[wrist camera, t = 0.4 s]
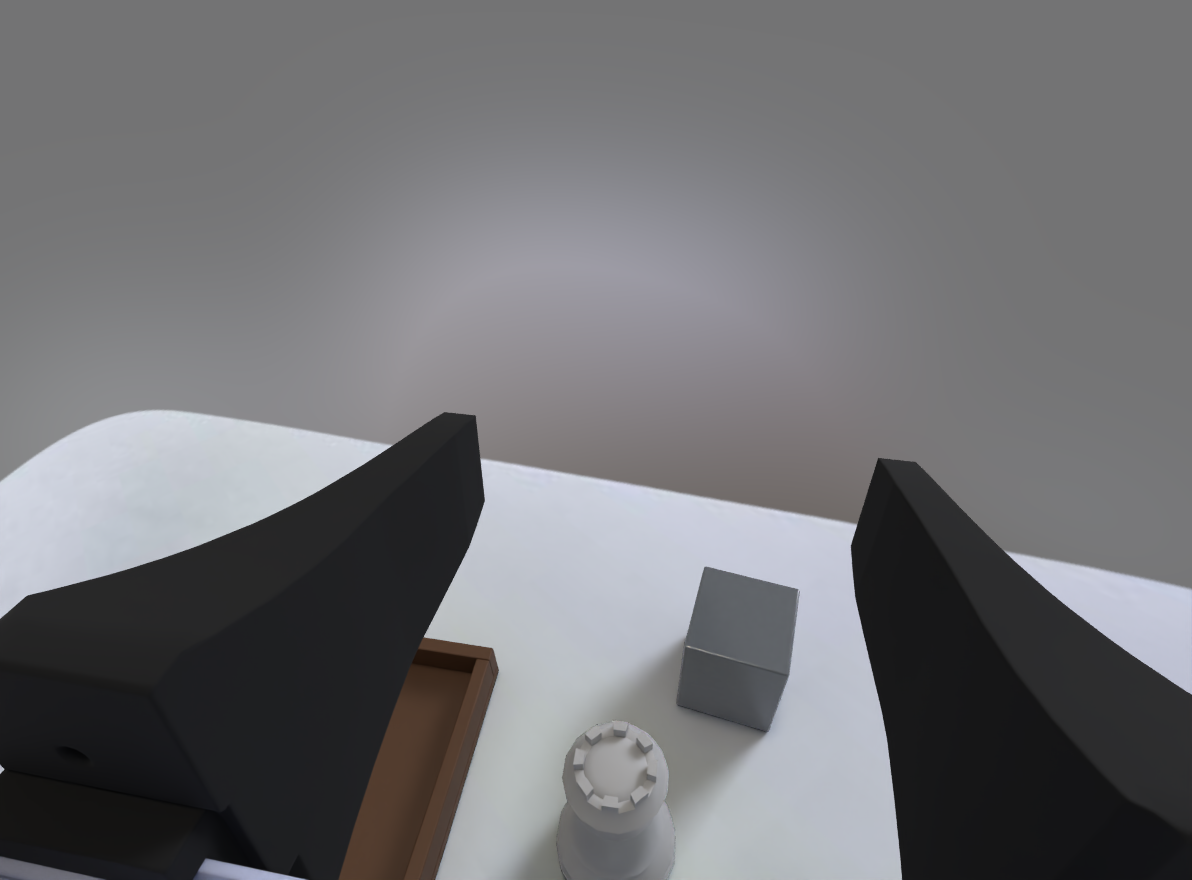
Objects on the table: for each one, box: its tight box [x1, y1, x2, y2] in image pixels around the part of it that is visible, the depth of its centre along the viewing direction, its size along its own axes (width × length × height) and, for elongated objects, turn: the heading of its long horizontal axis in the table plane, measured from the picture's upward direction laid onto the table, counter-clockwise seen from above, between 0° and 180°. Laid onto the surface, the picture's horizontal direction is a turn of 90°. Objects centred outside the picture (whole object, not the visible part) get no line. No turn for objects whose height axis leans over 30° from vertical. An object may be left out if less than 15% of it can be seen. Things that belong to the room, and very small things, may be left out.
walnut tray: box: [339, 638, 499, 880], centre depth 25 cm, size 17×13×2 cm
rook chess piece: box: [557, 720, 676, 880], centre depth 23 cm, size 4×4×8 cm
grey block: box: [677, 567, 800, 732], centre depth 28 cm, size 4×4×5 cm
